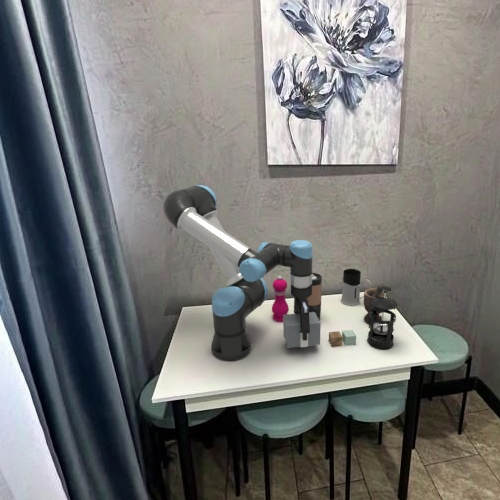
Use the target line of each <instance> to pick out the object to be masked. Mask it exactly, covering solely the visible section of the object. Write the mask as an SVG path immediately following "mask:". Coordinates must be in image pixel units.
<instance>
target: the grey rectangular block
mask: <svg viewBox="0 0 500 500" xmlns="http://www.w3.org/2000/svg"><path fill="white" fill-rule="evenodd" d="M309 322H310V333H308V347H310V346H321V326H322V325H321V320H320V321H319V319H318V317H317V315H316V313H315V312H309ZM282 326H283V328H282V329H283V338H284V341H285V344H286V347H287V349H289V348H298V347H299V348H301V347H300V333H299V331H301V324H300V314H295V313H290V314H288V313H287V314H286V315H283V325H282Z"/></svg>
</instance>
